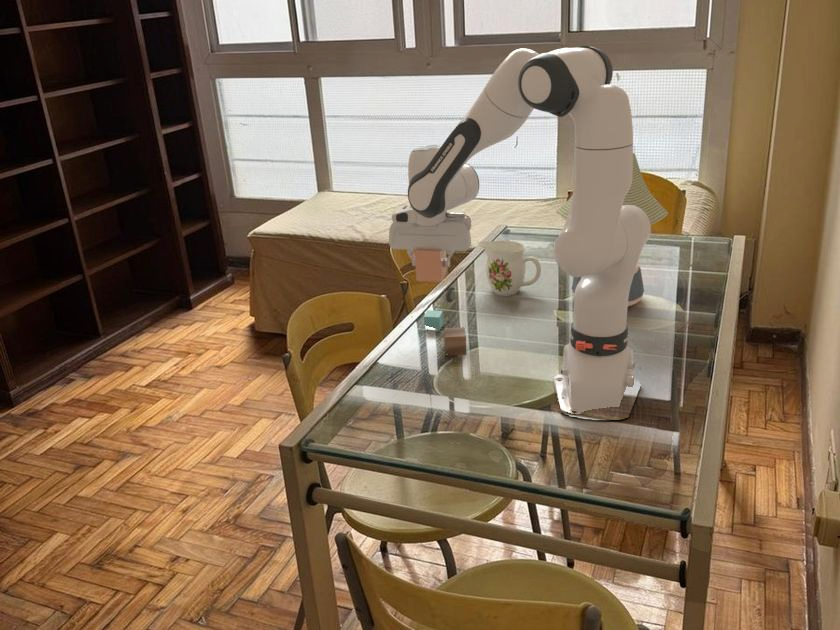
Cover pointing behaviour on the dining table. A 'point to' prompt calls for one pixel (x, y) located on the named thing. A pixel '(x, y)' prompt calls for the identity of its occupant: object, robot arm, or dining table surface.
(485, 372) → the dining table surface
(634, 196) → the desk lamp
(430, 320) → the cube
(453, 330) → the walnut block
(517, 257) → the pitcher
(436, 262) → the salmon pink cube
